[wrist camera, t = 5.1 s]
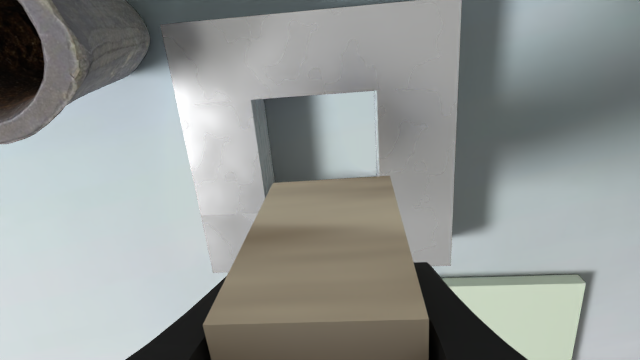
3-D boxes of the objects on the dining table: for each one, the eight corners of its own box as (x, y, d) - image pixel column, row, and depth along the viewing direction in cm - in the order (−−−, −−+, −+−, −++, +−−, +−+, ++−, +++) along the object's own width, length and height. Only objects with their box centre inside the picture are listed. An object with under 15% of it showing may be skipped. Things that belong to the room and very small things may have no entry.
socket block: (439, 239, 22) (450, 265, 19) (227, 247, 23) (213, 272, 20) (446, 0, 17) (461, -4, 15) (184, 24, 18) (160, 24, 16)
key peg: (393, 275, 15) (428, 475, 8) (287, 280, 15) (239, 472, 9) (389, 175, 13) (429, 319, 7) (272, 182, 14) (202, 325, 7)
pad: (552, 416, 26) (558, 428, 25) (381, 415, 27) (382, 427, 26) (577, 274, 22) (585, 283, 21) (376, 280, 23) (377, 288, 22)
